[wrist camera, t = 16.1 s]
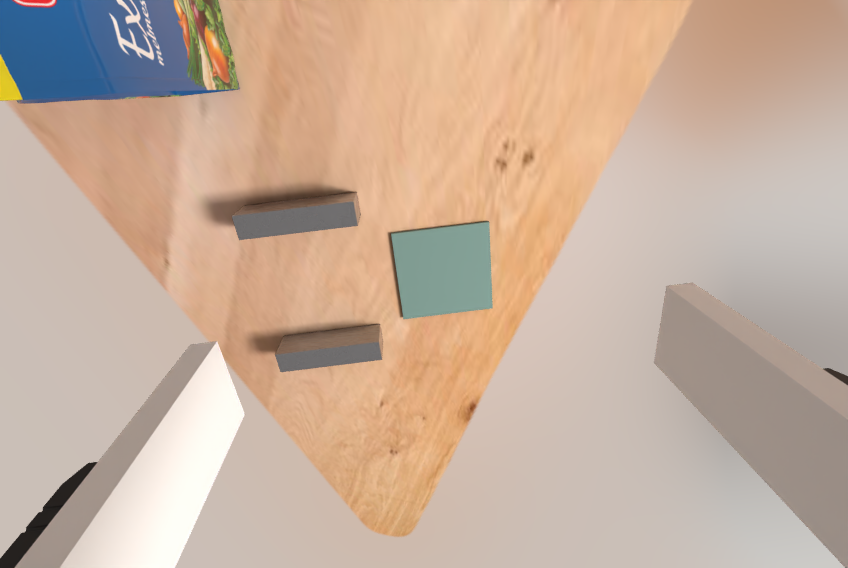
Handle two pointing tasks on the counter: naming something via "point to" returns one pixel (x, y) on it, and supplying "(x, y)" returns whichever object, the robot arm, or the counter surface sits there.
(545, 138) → the counter surface
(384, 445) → the counter surface
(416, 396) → the counter surface
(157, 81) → the blue food package
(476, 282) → the mat
